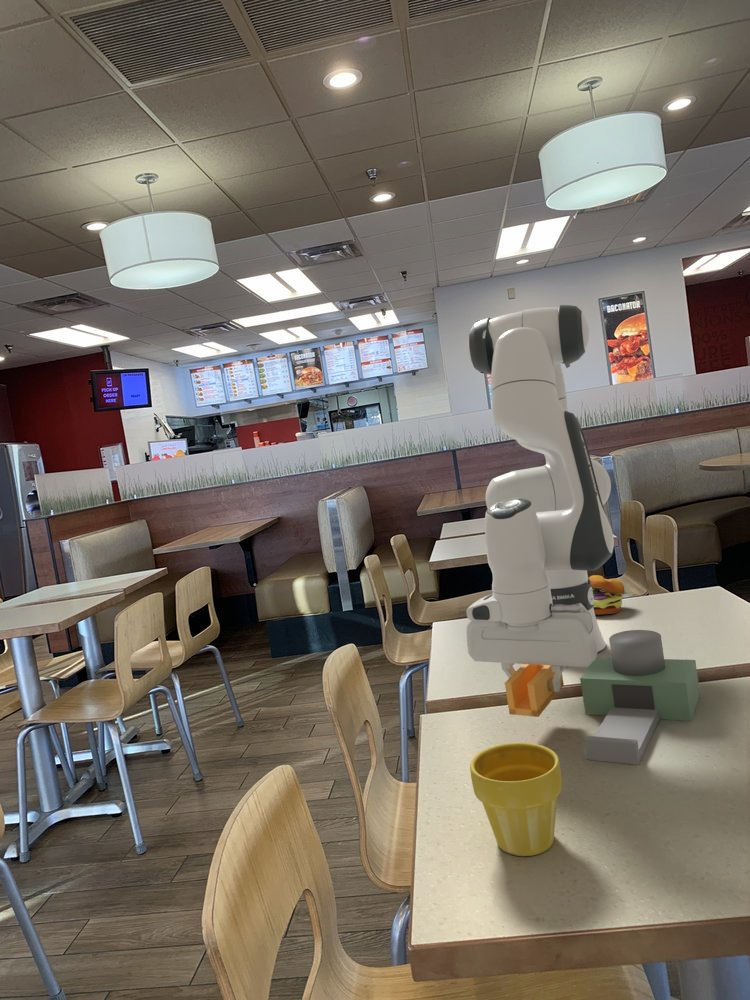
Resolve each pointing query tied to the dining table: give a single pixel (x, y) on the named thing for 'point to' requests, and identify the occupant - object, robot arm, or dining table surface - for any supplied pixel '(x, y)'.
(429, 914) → the dining table surface
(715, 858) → the dining table surface
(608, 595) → the cheeseburger
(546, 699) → the chute
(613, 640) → the green coffee machine
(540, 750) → the plant pot
